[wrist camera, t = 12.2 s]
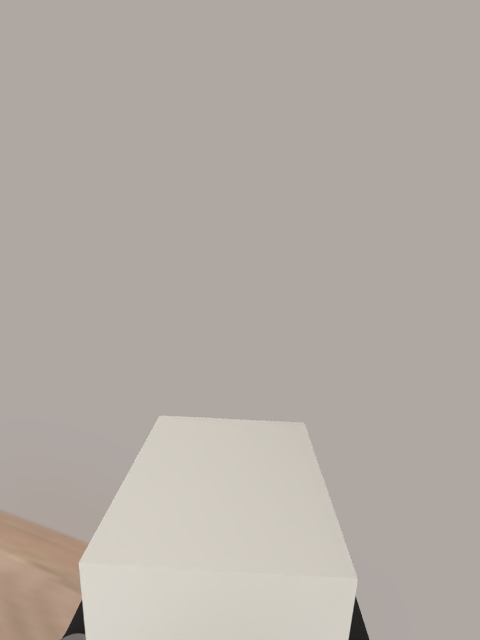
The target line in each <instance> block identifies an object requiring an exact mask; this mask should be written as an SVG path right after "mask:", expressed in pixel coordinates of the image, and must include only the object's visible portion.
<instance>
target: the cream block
mask: <svg viewBox="0 0 480 640" xmlns="http://www.w3.org/2000/svg"><path fill="white" fill-rule="evenodd" d="M79 571H80V581H81V592H82V602H83V613H84V624H85V634H86V640H348V639H349V633H350V627H351V620H352V614H353V608H354V602H355V595H356V589H357V582H358V577H357V574H356V571H355V569H354V565H353V562H352V560H351V557H350V554H349V551H348V548H347V545H346V542H345V539H344V536H343V533H342V531H341V528H340V525H339V522H338V519H337V516H336V513H335V510H334V508H333V505H332V502H331V499H330V496H329V493H328V490H327V487H326V484H325V481H324V478H323V476H322V473H321V470H320V467H319V464H318V461H317V458H316V455H315V452H314V450H313V447H312V444H311V441H310V438H309V435H308V432H307V429H306V426H305V423H298V422H278V421H257V420H256V421H255V420H235V419H217V418H196V417H176V416H159V418H158V420H157V422H156V423H155V425H154V427H153V429H152V431H151V433H150V434H149V436H148V438H147V440H146V442H145V443H144V445H143V447H142V449H141V451H140V453H139V454H138V456H137V458H136V460H135V462H134V464H133V465H132V467H131V469H130V471H129V472H128V474H127V476H126V478H125V480H124V482H123V484H122V485H121V487H120V489H119V491H118V492H117V494H116V496H115V498H114V500H113V502H112V503H111V505H110V507H109V509H108V511H107V513H106V514H105V516H104V518H103V520H102V521H101V523H100V525H99V527H98V529H97V531H96V532H95V534H94V536H93V538H92V540H91V541H90V543H89V545H88V547H87V549H86V551H85V552H84V554H83V556H82V558H81V560H80V561H79Z"/></svg>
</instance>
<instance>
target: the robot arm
mask: <svg viewBox="0 0 480 640" xmlns="http://www.w3.org/2000/svg"><path fill="white" fill-rule="evenodd" d="M61 640H86V634H85V624H84V613H83V602H82V601H81V603H80V605H79V607H78V609H77V611H76V613H75V615H74V617H73V620H72V622H71V624H70V626H69V628H68V630H67V631H66V633H65V635H64V636H63V638H62V639H61ZM348 640H369V637H368V634H367V631H366V628H365V624H364V621H363V618H362V615H361V612H360V609H359V606H358V602H357V599H356V596H355V602H354V608H353V614H352V620H351V627H350V633H349V639H348Z"/></svg>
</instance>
